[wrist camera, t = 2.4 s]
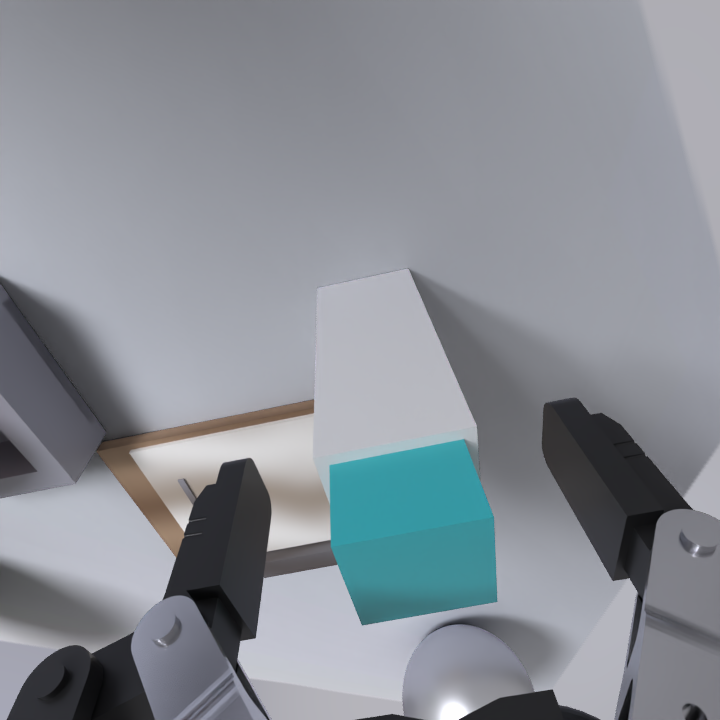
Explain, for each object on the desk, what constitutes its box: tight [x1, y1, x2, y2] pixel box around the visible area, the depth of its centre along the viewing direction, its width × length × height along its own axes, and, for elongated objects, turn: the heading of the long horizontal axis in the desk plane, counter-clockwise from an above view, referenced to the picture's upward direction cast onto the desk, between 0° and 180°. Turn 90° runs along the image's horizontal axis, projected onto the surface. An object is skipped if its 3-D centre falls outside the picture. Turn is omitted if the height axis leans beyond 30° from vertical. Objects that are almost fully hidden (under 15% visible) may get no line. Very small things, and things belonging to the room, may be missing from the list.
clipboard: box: [96, 400, 338, 578], centre depth 23 cm, size 11×15×1 cm
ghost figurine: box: [402, 624, 534, 720], centre depth 29 cm, size 9×9×10 cm
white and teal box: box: [313, 269, 497, 625], centre depth 13 cm, size 4×4×11 cm
